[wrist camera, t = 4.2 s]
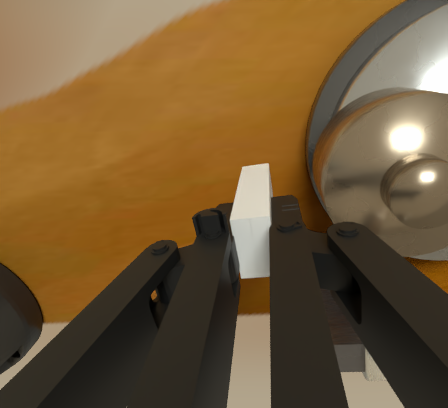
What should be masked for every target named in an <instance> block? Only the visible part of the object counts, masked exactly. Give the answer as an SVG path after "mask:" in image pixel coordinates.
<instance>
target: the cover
mask: <svg viewBox="0 0 448 408" xmlns="http://www.w3.org/2000/svg"><path fill="white" fill-rule="evenodd" d="M313 177H314V181H315V184H316V187H317V189H318V191H319V194H320V196H321V198H322V200H323V203H324V205H325V207H326V209H327V212H328V214H329V216H330V218H331V220H332V222H333V224H336V223H340V222H355V223H359V224H362V225H364V226H365V227H367V228H368V229H369V230H371V231H372V232H373V233H374V234H375V235H377V236H378V237H379V238H380V239H381V240H383V241H384V242H385V243H386V244H388V245H389V246H390V247H391V248H392V249H394V250H395V251H396V252H397V253H398V254H400V255H401V256H402V257H410V256H418V255H424V254H428V253H432V252H435V251H438V250H441V249H444V248H446V247H448V93H442V92H435V91H428V90H421V89H414V88H407V87H393V88H385V89H381V90H377V91H373V92H371V93H368V94H365V95H363V96H361V97H359V98H357V99H355V100H354V101H352V102H350V103H349V104H347V105H346V106H345V107H344V108H342V109H341V110H340V111H339V112H338V113H337V114H336V115H335V116H334V117H333V118H332V119H331V120H330V121H329V123H328V124H327V125H326V127H325V128H324V130H323V131H322V133H321V135H320V137H319V139H318V141H317V144H316V147H315V151H314V155H313Z"/></svg>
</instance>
